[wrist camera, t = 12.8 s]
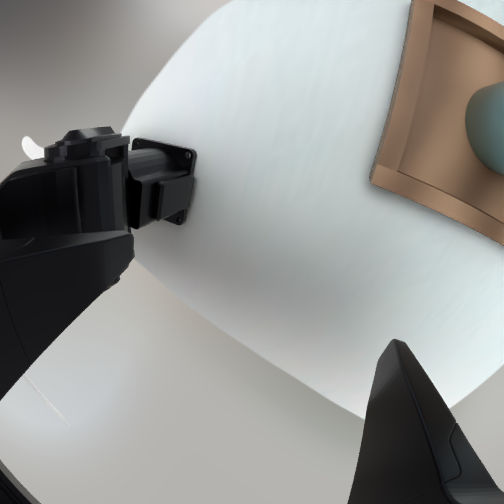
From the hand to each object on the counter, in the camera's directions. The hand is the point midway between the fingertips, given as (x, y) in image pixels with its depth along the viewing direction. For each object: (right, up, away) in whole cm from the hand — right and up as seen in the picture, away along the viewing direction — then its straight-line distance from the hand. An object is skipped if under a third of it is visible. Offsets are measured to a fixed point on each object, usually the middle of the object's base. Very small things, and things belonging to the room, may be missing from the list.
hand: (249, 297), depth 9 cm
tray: (+17, +10, +4) cm, 20 cm away
